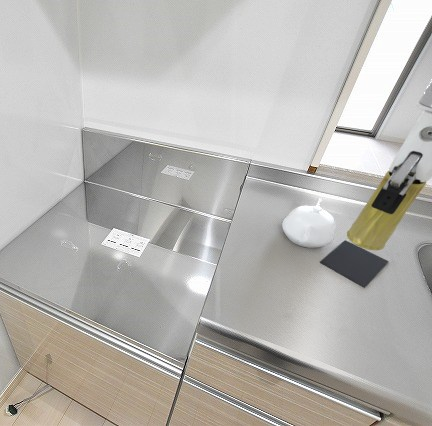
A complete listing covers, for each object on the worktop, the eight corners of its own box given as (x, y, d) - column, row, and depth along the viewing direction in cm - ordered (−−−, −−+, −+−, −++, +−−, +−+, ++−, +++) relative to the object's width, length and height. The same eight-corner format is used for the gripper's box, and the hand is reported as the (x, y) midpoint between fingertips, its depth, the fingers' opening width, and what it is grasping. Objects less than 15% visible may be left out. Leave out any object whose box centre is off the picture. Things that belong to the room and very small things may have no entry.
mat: (388, 262, 74) (389, 261, 74) (364, 287, 68) (365, 287, 67) (344, 240, 81) (345, 240, 80) (319, 262, 74) (319, 261, 74)
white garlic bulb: (288, 211, 92) (300, 184, 86) (334, 226, 86) (350, 197, 80) (271, 246, 79) (283, 217, 73) (323, 266, 73) (341, 236, 67)
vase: (352, 247, 56) (393, 183, 47) (341, 228, 61) (377, 166, 52) (389, 253, 55) (439, 188, 46) (376, 232, 59) (418, 170, 51)
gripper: (480, 119, 35) (396, 233, 46) (508, 94, 43) (430, 197, 54) (403, 105, 40) (343, 211, 51) (440, 85, 48) (382, 180, 59)
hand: (389, 203), depth 52 cm, fingers closed on vase, 5 cm apart
